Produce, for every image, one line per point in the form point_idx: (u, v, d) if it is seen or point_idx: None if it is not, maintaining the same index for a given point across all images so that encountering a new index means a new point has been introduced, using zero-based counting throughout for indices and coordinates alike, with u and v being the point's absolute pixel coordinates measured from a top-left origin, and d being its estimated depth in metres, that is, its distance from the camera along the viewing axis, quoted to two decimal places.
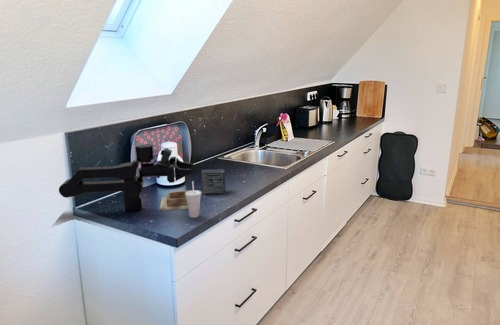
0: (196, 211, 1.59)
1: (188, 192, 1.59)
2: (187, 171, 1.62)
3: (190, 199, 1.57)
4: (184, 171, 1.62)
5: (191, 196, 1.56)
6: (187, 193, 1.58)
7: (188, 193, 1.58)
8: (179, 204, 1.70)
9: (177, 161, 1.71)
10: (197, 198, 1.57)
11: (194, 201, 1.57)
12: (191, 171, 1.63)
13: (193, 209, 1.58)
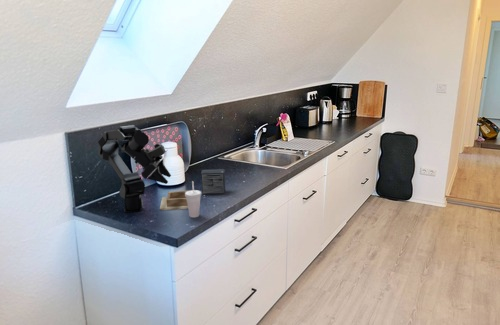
0: (196, 211, 1.59)
1: (188, 192, 1.59)
2: (163, 179, 1.57)
3: (190, 199, 1.57)
4: (160, 177, 1.56)
5: (191, 196, 1.56)
6: (187, 193, 1.58)
7: (188, 193, 1.58)
8: (179, 204, 1.70)
9: (161, 162, 1.66)
10: (197, 198, 1.57)
11: (194, 201, 1.57)
12: (165, 182, 1.58)
13: (193, 209, 1.58)
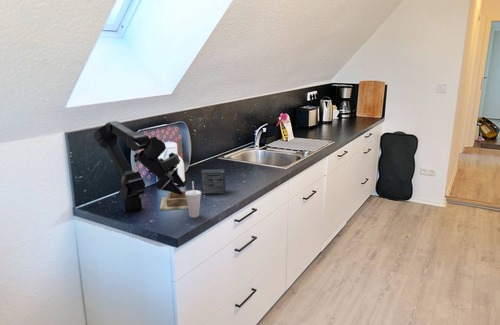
0: (196, 211, 1.59)
1: (188, 192, 1.59)
2: (177, 190, 1.52)
3: (190, 199, 1.57)
4: (175, 188, 1.52)
5: (191, 196, 1.56)
6: (187, 193, 1.58)
7: (188, 193, 1.58)
8: (179, 204, 1.70)
9: (175, 171, 1.62)
10: (197, 198, 1.57)
11: (194, 201, 1.57)
12: (180, 192, 1.53)
13: (193, 209, 1.58)
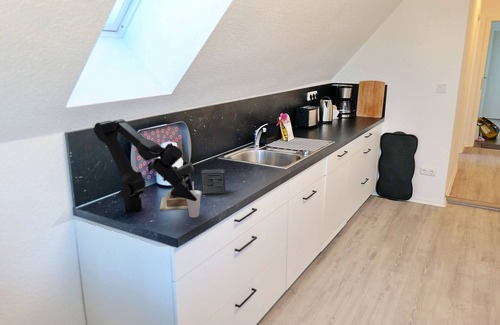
0: (196, 211, 1.59)
1: None
2: (192, 197, 1.55)
3: None
4: (189, 195, 1.55)
5: None
6: None
7: None
8: (179, 204, 1.70)
9: (188, 180, 1.62)
10: (197, 198, 1.57)
11: (194, 201, 1.57)
12: (194, 199, 1.56)
13: (193, 209, 1.58)
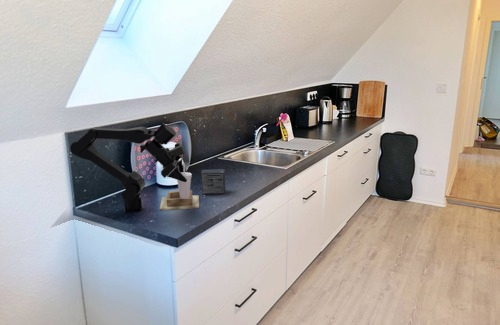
0: (186, 192, 1.65)
1: None
2: (182, 177, 1.61)
3: None
4: (180, 176, 1.60)
5: None
6: None
7: None
8: (179, 204, 1.70)
9: (180, 162, 1.67)
10: (187, 179, 1.63)
11: (184, 182, 1.63)
12: (184, 180, 1.61)
13: (184, 189, 1.64)
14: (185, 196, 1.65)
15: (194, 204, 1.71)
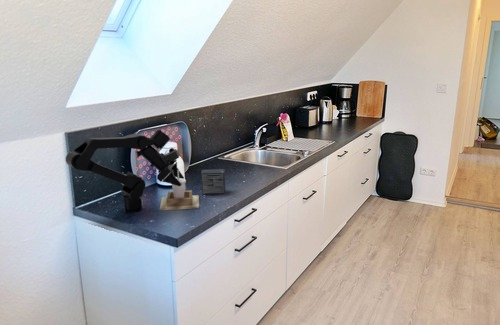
0: None
1: None
2: (176, 182, 1.67)
3: (175, 186, 1.70)
4: (174, 180, 1.66)
5: None
6: None
7: None
8: (179, 204, 1.70)
9: (175, 165, 1.76)
10: (182, 185, 1.70)
11: (179, 188, 1.70)
12: (179, 184, 1.68)
13: (178, 195, 1.71)
14: None
15: (194, 204, 1.71)
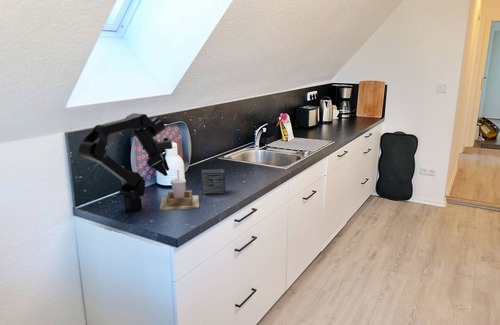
0: None
1: (174, 180, 1.72)
2: (164, 171, 1.67)
3: (175, 186, 1.70)
4: (162, 169, 1.67)
5: (176, 183, 1.69)
6: (173, 181, 1.71)
7: (173, 181, 1.71)
8: (179, 204, 1.70)
9: (164, 155, 1.77)
10: (182, 185, 1.70)
11: (179, 188, 1.70)
12: (165, 174, 1.68)
13: (178, 195, 1.71)
14: None
15: (194, 204, 1.71)
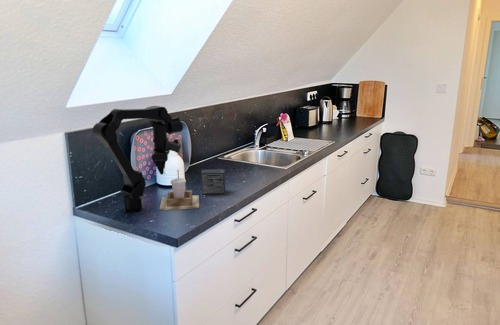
0: None
1: (174, 180, 1.72)
2: (161, 169, 1.71)
3: (175, 186, 1.70)
4: (161, 167, 1.70)
5: (176, 183, 1.69)
6: (173, 181, 1.71)
7: (174, 181, 1.71)
8: (179, 204, 1.70)
9: (166, 153, 1.80)
10: (182, 185, 1.70)
11: (179, 188, 1.70)
12: (161, 173, 1.72)
13: (178, 195, 1.71)
14: None
15: (194, 204, 1.71)
